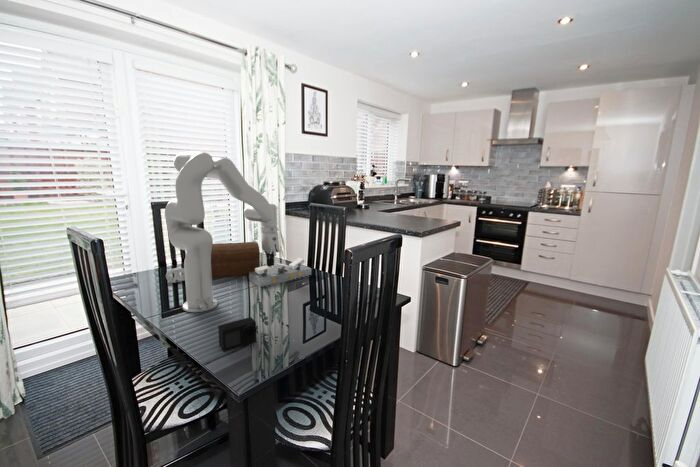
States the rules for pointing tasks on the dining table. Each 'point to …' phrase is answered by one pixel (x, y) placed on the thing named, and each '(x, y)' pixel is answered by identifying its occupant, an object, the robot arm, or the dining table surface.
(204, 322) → the dining table surface
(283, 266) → the rocker mid
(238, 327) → the digital camera
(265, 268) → the rocker near
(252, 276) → the console
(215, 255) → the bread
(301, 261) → the rocker far
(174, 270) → the pendant light
